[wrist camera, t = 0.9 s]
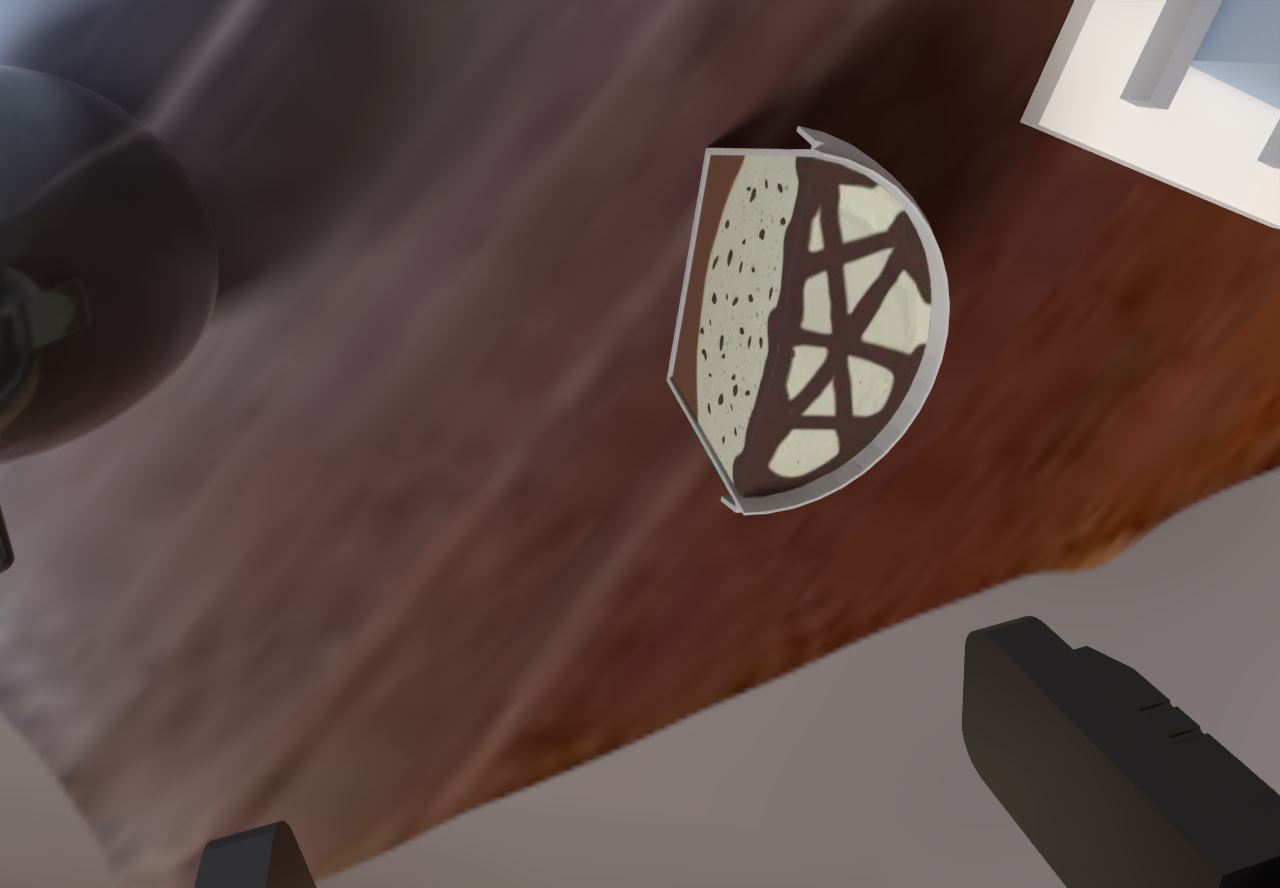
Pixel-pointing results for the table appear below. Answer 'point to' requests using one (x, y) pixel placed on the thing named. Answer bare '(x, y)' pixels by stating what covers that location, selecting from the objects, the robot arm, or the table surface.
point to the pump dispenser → (90, 265)
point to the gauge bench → (1159, 103)
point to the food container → (805, 319)
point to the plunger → (1244, 48)
